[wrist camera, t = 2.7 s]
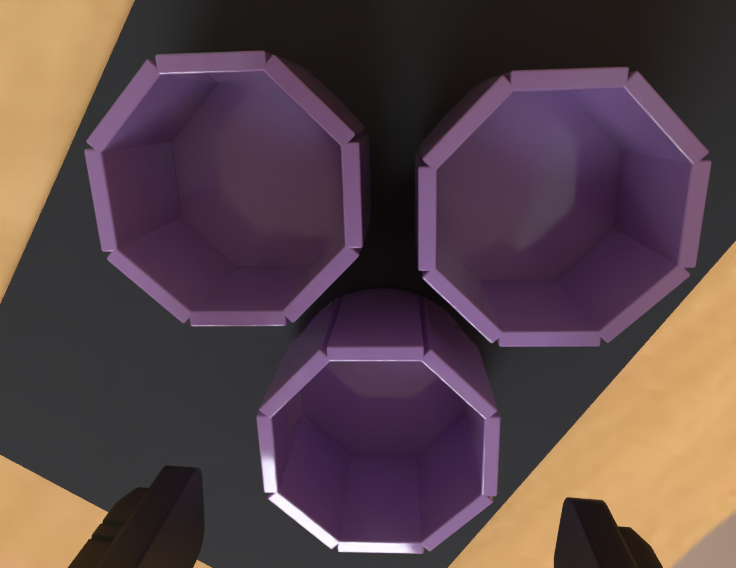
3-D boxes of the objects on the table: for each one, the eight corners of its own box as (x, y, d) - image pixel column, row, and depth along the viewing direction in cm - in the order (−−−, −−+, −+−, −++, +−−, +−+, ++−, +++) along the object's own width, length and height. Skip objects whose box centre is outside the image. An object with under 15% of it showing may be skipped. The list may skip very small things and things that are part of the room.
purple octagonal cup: (157, 70, 16) (66, 57, 12) (368, 63, 15) (356, 46, 11) (183, 273, 18) (114, 327, 13) (374, 271, 17) (365, 326, 13)
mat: (367, -505, 12) (366, -524, 12) (957, -24, 14) (972, -28, 14) (-46, 420, 20) (-55, 426, 20) (373, 644, 22) (372, 653, 22)
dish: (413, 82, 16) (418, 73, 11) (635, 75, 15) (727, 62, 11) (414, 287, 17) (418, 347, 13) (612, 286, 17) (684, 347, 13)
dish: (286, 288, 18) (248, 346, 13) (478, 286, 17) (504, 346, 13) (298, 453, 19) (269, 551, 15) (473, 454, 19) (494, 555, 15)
